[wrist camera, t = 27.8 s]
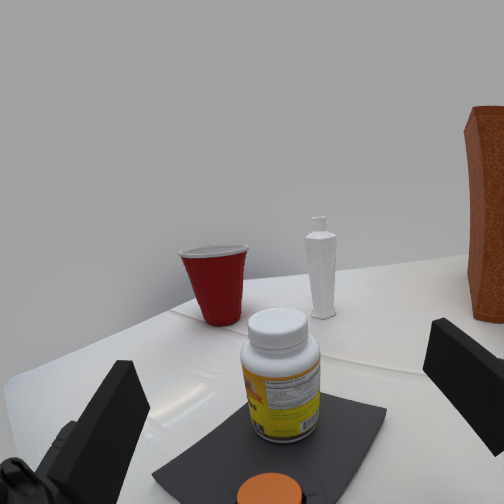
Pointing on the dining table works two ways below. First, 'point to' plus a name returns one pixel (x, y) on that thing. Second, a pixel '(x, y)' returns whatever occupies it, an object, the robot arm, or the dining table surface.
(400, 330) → the dining table surface
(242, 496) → the button
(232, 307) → the plastic cup
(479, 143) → the book
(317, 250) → the perfume bottle
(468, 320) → the dining table surface
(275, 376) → the supplement bottle
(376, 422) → the scale
